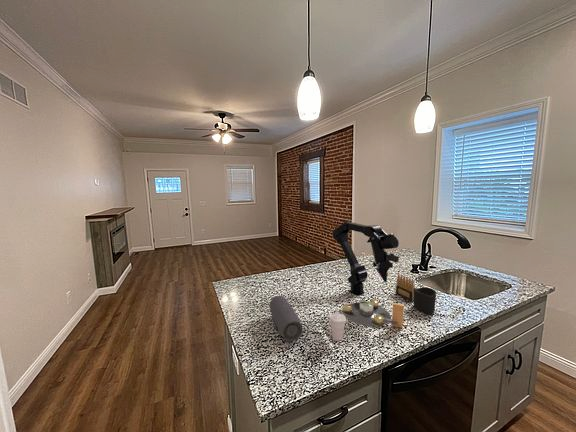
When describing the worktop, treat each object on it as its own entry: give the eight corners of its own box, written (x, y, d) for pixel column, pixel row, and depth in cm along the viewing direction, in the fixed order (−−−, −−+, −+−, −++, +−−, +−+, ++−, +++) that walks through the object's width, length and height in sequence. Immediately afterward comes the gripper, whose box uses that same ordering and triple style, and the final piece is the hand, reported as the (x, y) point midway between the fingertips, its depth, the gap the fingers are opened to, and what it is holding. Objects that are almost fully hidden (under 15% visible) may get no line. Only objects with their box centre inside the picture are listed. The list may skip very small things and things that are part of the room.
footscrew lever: (372, 323, 104) (373, 302, 103) (373, 319, 108) (374, 298, 107) (402, 330, 100) (403, 307, 98) (402, 325, 103) (403, 303, 102)
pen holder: (434, 317, 111) (436, 296, 110) (411, 312, 116) (412, 292, 115) (435, 308, 119) (436, 289, 118) (413, 304, 124) (414, 285, 123)
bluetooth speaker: (304, 342, 95) (304, 317, 94) (281, 346, 93) (280, 322, 91) (287, 313, 117) (287, 293, 116) (268, 316, 114) (268, 296, 113)
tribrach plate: (333, 313, 116) (333, 300, 115) (362, 300, 128) (362, 289, 127) (371, 334, 99) (371, 320, 98) (400, 318, 111) (401, 305, 110)
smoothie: (327, 335, 99) (327, 302, 97) (342, 334, 99) (343, 302, 98) (331, 346, 93) (331, 311, 91) (348, 345, 93) (348, 310, 91)
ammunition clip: (414, 301, 127) (415, 278, 126) (411, 301, 126) (413, 279, 125) (397, 293, 137) (398, 272, 135) (395, 293, 136) (396, 272, 135)
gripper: (400, 247, 113) (408, 281, 110) (390, 247, 131) (397, 277, 128) (375, 251, 114) (383, 285, 112) (369, 251, 133) (375, 280, 130)
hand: (385, 282), depth 120 cm, fingers closed
